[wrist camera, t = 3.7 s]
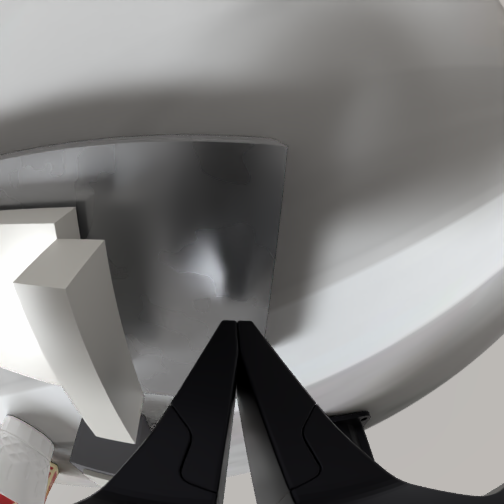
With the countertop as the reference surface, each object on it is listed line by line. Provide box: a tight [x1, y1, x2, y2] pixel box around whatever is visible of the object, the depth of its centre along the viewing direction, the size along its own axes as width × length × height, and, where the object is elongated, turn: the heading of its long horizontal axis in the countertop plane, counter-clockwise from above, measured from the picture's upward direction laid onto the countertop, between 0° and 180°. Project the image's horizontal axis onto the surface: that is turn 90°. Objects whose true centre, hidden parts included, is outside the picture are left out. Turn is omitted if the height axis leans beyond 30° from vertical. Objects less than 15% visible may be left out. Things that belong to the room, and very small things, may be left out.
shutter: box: [0, 207, 144, 444], centre depth 6 cm, size 8×7×3 cm
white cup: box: [0, 415, 54, 504], centre depth 15 cm, size 8×8×10 cm
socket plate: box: [0, 135, 288, 399], centre depth 9 cm, size 17×10×2 cm, turn 86°
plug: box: [70, 415, 151, 487], centre depth 14 cm, size 4×4×5 cm
